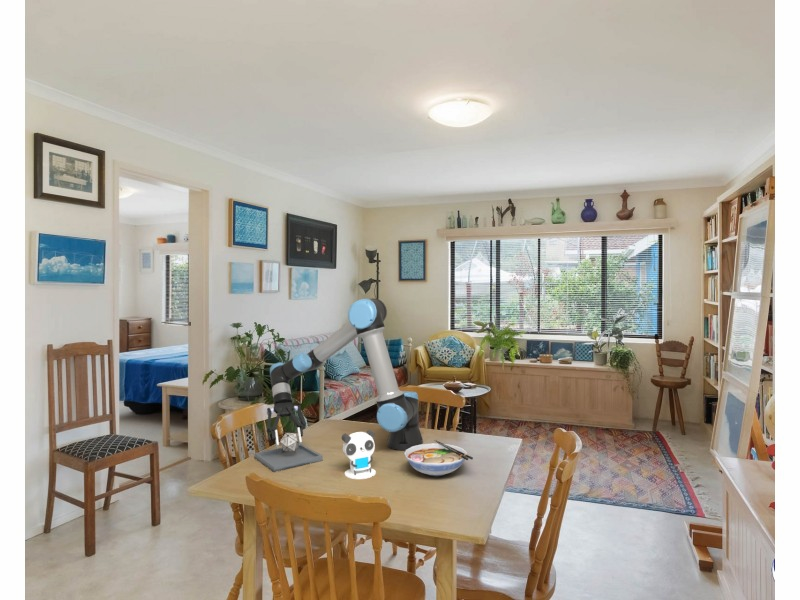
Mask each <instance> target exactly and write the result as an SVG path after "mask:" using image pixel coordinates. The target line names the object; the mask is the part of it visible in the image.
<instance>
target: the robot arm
mask: <svg viewBox="0 0 800 600" xmlns="http://www.w3.org/2000/svg"><path fill="white" fill-rule="evenodd" d="M347 311H348V312H347V318H348V321H349V322H347V323H345V324H344V325H343V326H342V327H340V328H339V329H337V330H336V331H335V332H334V333H332V334H331V335H330V336H328V337H327V338H326V339H324V340H323V341H321V343H319V344H318V345H317V346H314V348H313V349H311V351H309V352H308V353H305V352H300V353H299V354H297V355H295V356H294V357H292V358H291V359H289V360H288V361H287V362H285V363H284V362H276V363H274V364H272V365H271V366H270V367H269V377H270V383H271V390H272V397H273V407H272V408H271V407H267V410H266V414H267V423H266V433H271V438H272V440H273V441H275V447H276V448H275V449H277V448H280V442H279V441H280V440H279V434H278V429H277V426H278V424H279V421H280V419H281V418H283V417H289V418H290V419H291V421H292V422H293V424H294V425H295V427H296V432H297V436H298V441H299V445H301V444H302V443H303V442H302V441H303V440H302V438H303V435H304V431H303V429H306V426H307V422H306V419H305V417H304V414H303V412H302V405H301V404H298V405H294V403H293V398H292V397H293V396H292V392H291V386H290V385H291V384H290V381H292V380H294V379H295V378H296V377H298V376H300V375H302V374H304V373H307V372H310V371H315V370H317V369H319V368H320V367H321V366H322V364H323V363H325V361H328V359H330V358H331V357H333V356H334V355H335V354H336V353H338V352H340V350H342V349H344V347H346V346H347V345H349V344H350V343H351V342H353V341H355V339H357V338H358V337H359V338H361V339H362V342H363V346H364V350H365V354H366V356H367V359H368V364H369V366H370V370H371V371H370V372H371V374H372V378H373V381H374V385H375V388H376V391H377V394H378V396H377V397H376V400H375V403H376V406H377V412H376V421H377V423H378V425H379V426H380V427H381V428H382V429H383V430H385V431H386V432H389V435H388V438H387V447H388V448H389V449H392V450H396V451H406V449H408V448H410V447H412V446H416V445H421V444H424V439H423V436H422V433H421V430H420V427H419V426H420V425H419V395H418V393H417V392H416V391H408V390H400V389H399V385H398V381H397V379H396V374H395V371H394V368H393V364H392V361H391V358H390V353H389V351H388V347H387V343H386V339H385V336H384V333H383V332H384V331H385V323H384V321H385V320H386V318H387V315H388V310H387V306H386V304H385V303H384V302H383V301H382V300H380V299H378V298H362V299H361V298H360V299H358V300H356V301H354V302H353V303H352V304H351V305H350V306H349V309H348V310H347ZM294 411H295V412H296V413H297V416H298V417H297V416H296V415H295V414H294ZM273 413H275V414H276V417H275V419H274V422H273V425H272V426H271V424H272V423H271V421H272V414H273Z"/></svg>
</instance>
